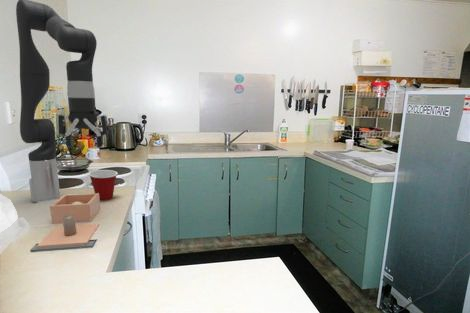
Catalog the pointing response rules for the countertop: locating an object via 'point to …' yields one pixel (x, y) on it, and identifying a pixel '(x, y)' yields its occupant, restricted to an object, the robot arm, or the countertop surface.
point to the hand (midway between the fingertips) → (85, 147)
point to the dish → (75, 207)
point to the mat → (90, 245)
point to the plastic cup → (103, 183)
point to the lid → (68, 234)
